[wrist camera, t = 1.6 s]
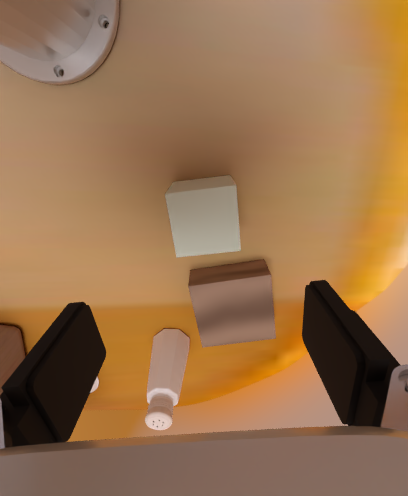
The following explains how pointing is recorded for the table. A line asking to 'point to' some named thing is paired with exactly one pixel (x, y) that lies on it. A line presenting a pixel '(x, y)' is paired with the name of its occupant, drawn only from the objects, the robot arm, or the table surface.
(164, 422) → the pepper shaker
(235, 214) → the sage block
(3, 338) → the block
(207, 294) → the walnut block
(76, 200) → the table surface
